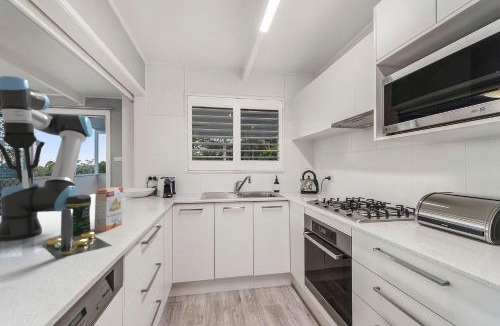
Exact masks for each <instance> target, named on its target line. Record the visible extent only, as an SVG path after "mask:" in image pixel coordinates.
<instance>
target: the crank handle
mask: <svg viewBox="0 0 500 326" xmlns="http://www.w3.org/2000/svg"><path fill="white" fill-rule="evenodd" d="M60 212H61V215H60V218H61V219H60V237H61V252H62V255H66V254H71V253H72V252H73V251H74V250H75V249H76V248H77V247H78V246H81V245H85V244H87V243H88V242H89V238H87V237H81V236H80V238H79V237H75V238H74V236H73V209H63V210H61V211H60Z"/></svg>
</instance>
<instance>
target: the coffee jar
mask: <svg viewBox="0 0 500 326" xmlns="http://www.w3.org/2000/svg"><path fill="white" fill-rule="evenodd" d="M91 205H92V197H91V196H90V195H89V194H78V195H75V196H70V197H68V198H67V199H66V208H67V209H73V237H78V236H80V237H81V233H83V232H89V231H91V214H90V212H91V211H90V209H91Z"/></svg>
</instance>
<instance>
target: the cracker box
mask: <svg viewBox="0 0 500 326" xmlns="http://www.w3.org/2000/svg"><path fill="white" fill-rule="evenodd" d="M123 197H124V187H120V186H119V187H117V186H115V187H114V186H113V187H107V188H106V187H105V188H99V189H95V202H94V203H95V204H94V205H95V206H94V230H93V231H94V232H95V233H96V232H99V233H100V232H103V233H104V232H109V231H110V230H112V229H115V228H117V227H119V226H122V225H123V204H124V203H123V202H124V201H123V199H124V198H123Z"/></svg>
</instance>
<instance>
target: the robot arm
mask: <svg viewBox="0 0 500 326" xmlns="http://www.w3.org/2000/svg"><path fill="white" fill-rule="evenodd" d="M49 106H50V99H49V97H48V96H47V95H46V94H45V93H43V92H41V91H39V90H35V89H32V88H30V84H29V81H28V80H27V79H25V78H23V77H17V76H9V75H8V76H7V75H6V76H5V75H4V76H3V75H2V76H0V113H1V115H2V121H3V122H4V123H3V124H2V125H3V131H4V136H3V137H2V140H0V153H1V155H2V156H3V158H4V160H5V163H6V164H7V166H8V168H9V170H14V171H16V176H17V179H18V180H21V181H22V182H21V183H22V184H21V185H15V186H13V185H12V186H7V187H4V188H3V189H2V191H1V197H0V198H1V209H0V212H1V214H0V217H1V219H0V242H6V241H7V242H10V241H17V240H23V239H24V240H25V239H29V238H33V237H36V236H39V235H41V234H42V233H43V228H42V225H41V223H40V220H39V217H38V213H46V212H47V213H48V212H49V213H51V212H61V210H63V209H67V208H66V199H67V198H68V197H70V196H75V195H79V189H78V187H77V186H76V183H75V182H74V181H73V180H74V178H75V177H74V176H75V172H76V168H77V163H78V160H79V156H80V152H81V148H82V143H85V142H86V140H87V138H91V137H92V135H93V128H92V127H93V126H92V122H91V120H90V118H89V117H88V116H87V115H80V114H78V115H77V114H76V115H75V114H63V113H62V114H61V113H48V112H45V111H44V110H46V109H48V108H49ZM34 129H35V130H37V131H39V132H41V133H45V134H49V135H51V136H52V135H53V136H59V137H60V138H61V141H60V144H59V148H58V151H57V154H56V159H55V162H54V165H53V169H52V173H51V176H50V178H49V179H46V180H45V181H44V185H43V186H39V184H38V183H31V184H30V183H29V179H32V178H33V173H32V172H33V171H32V170H33V169H35V168H38V166H39V162H40V157H41V152H42V149H43V147H44V145H45V144H46V143H45V141H41V140H39V139H37V137H36V135H35V130H34ZM6 144H7V145H8V146H10V147H11V148H12V149H13V151H14V153H13V154H14V160H15V165H14V164H13V162H12V160H11V158H10V156H9V154H8V152H7V150H6V148H5V147H6ZM34 144H35V146H36V148H35V153H34V157H33V162H32V163H31V153H30V148H32V147H33V145H34ZM21 149H23V152H24V153H23V154H24V160H25V161H24V162H25V168H26V169H22V163H21V154H20V153H21V152H20V150H21Z"/></svg>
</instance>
